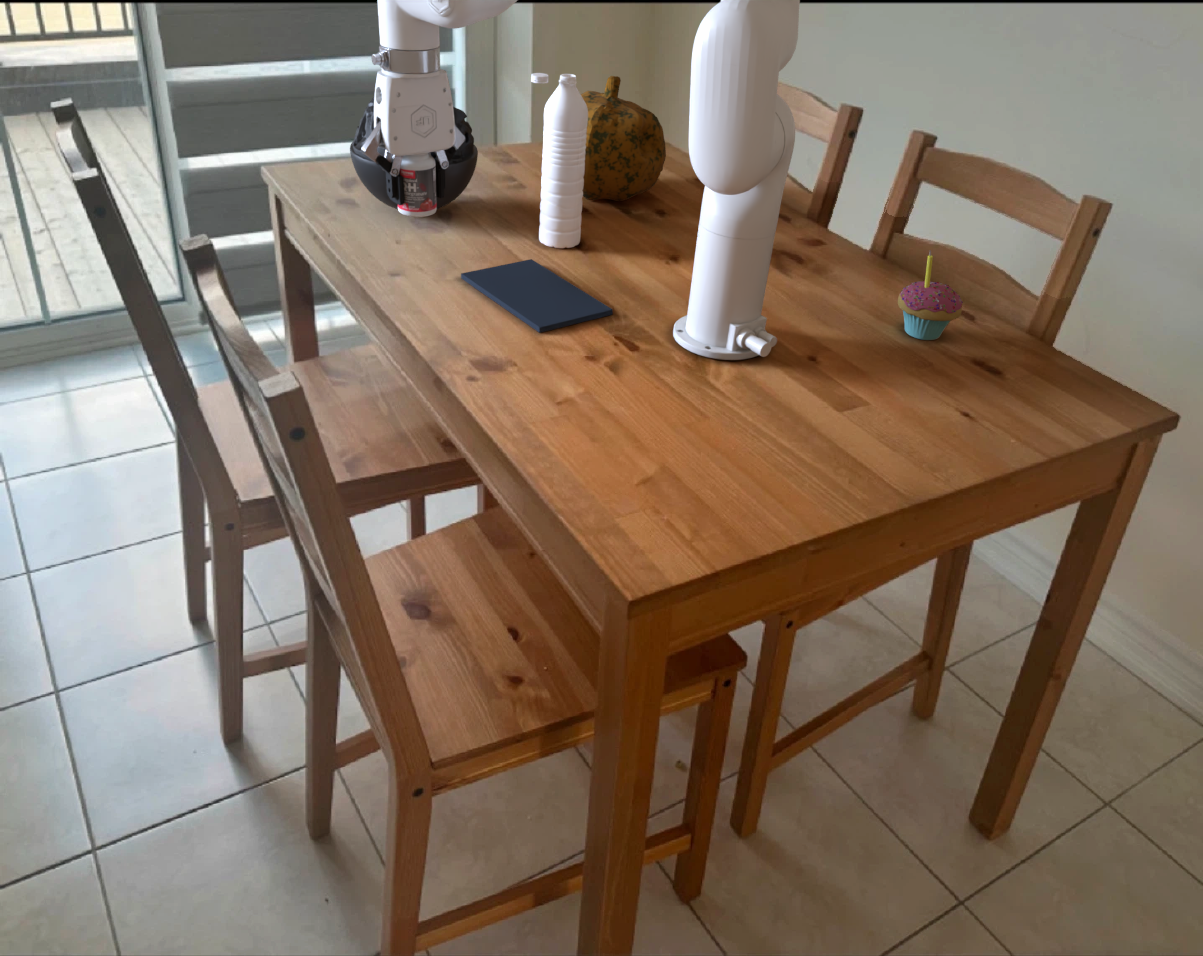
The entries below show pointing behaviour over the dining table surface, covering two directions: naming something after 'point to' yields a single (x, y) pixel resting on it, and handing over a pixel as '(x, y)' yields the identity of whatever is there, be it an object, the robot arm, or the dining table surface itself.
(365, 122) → the black sculptural bowl
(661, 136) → the decorative pumpkin
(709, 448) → the dining table surface
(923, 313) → the cupcake
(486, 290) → the mat
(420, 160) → the pill bottle
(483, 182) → the dining table surface
